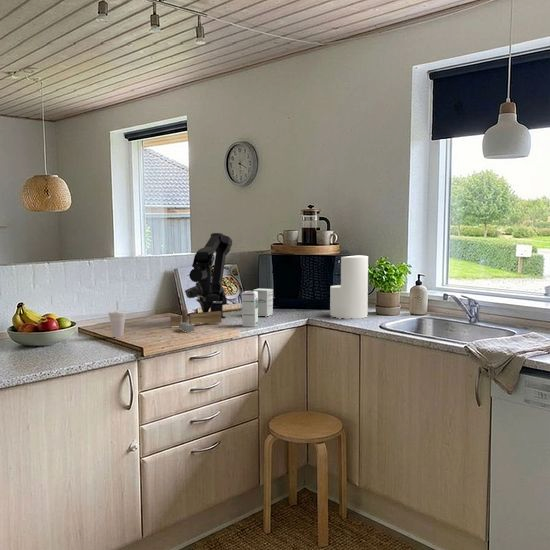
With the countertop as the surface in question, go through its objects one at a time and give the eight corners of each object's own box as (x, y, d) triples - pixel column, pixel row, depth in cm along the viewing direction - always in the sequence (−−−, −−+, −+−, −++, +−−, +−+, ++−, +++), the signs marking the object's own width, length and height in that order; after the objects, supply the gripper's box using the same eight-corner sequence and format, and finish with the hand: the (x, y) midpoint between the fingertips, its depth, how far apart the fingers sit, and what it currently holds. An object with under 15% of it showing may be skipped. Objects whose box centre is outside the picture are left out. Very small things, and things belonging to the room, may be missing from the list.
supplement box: (252, 316, 262) (252, 289, 261) (259, 314, 269) (259, 288, 268) (267, 317, 259) (267, 290, 258) (273, 315, 266) (273, 288, 265)
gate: (189, 324, 237) (188, 313, 237) (219, 322, 244) (219, 311, 243) (190, 325, 236) (190, 314, 235) (221, 322, 242) (221, 311, 242)
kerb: (179, 329, 229) (179, 322, 229) (186, 328, 230) (186, 322, 230) (186, 333, 221) (186, 325, 221) (194, 332, 222) (193, 325, 222)
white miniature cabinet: (255, 327, 234) (255, 292, 233) (241, 326, 235) (241, 292, 234) (258, 324, 240) (258, 290, 239) (245, 324, 241) (245, 290, 240)
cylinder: (373, 315, 265) (374, 255, 262) (358, 320, 250) (358, 257, 248) (340, 312, 274) (340, 255, 272) (323, 317, 259) (323, 256, 257)
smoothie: (111, 339, 208) (110, 302, 207) (107, 336, 214) (106, 300, 212) (128, 338, 211) (127, 301, 210) (124, 335, 217) (123, 299, 215)
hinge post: (170, 327, 233) (170, 310, 233) (186, 326, 237) (186, 309, 236) (172, 328, 232) (171, 311, 231) (188, 326, 235) (188, 310, 234)
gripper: (179, 279, 248) (180, 314, 249) (194, 282, 231) (195, 320, 233) (203, 278, 253) (203, 312, 254) (219, 281, 237) (220, 318, 238)
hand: (205, 315), depth 245 cm, fingers closed
